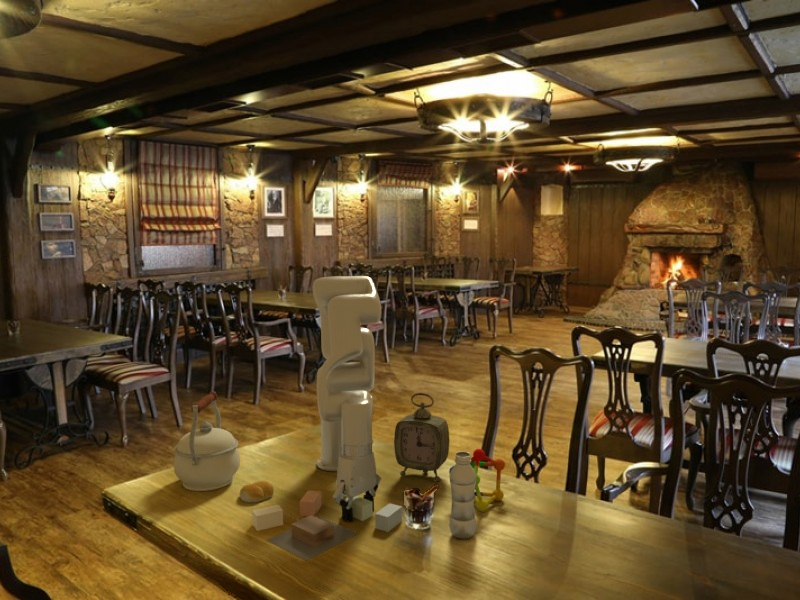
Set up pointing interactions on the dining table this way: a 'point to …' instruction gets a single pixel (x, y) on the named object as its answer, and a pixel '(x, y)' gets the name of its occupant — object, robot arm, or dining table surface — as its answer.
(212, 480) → the kettle
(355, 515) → the brick sage
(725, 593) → the dining table surface
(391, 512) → the grey block
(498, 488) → the educational toy
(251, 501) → the bread roll
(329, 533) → the brick walnut
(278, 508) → the brick cream
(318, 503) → the brick terracotta
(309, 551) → the slate board
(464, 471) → the plastic bottle
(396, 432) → the tabletop clock
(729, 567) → the dining table surface
